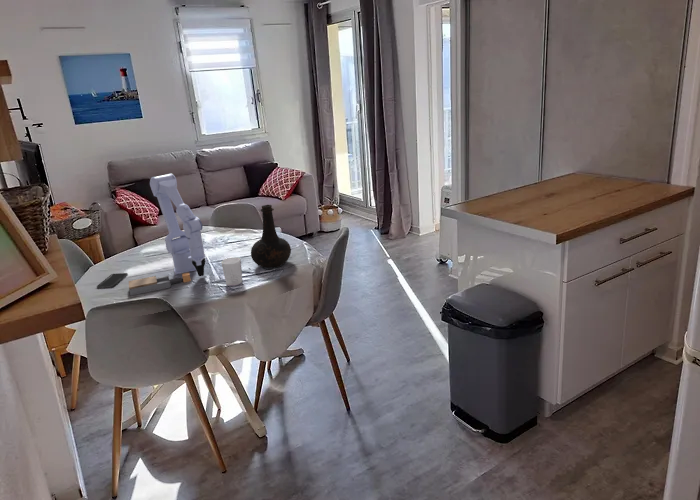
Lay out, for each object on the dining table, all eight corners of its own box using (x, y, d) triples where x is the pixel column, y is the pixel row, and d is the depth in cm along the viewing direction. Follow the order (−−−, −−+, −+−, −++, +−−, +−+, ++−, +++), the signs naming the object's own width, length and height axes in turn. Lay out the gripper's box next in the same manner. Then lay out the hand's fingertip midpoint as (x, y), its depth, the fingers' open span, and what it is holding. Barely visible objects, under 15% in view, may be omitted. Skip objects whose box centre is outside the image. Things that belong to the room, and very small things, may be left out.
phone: (95, 286, 219) (111, 273, 233) (96, 289, 219) (112, 276, 233) (113, 286, 218) (128, 272, 232) (114, 288, 219) (129, 275, 233)
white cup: (221, 283, 215) (217, 261, 212) (237, 277, 220) (233, 256, 217) (231, 288, 209) (227, 265, 206) (247, 282, 215) (244, 259, 211)
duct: (169, 280, 222) (168, 275, 221) (170, 287, 215) (169, 281, 214) (130, 288, 216) (129, 283, 215) (130, 295, 209) (129, 289, 208)
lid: (156, 277, 219) (155, 275, 219) (157, 283, 212) (156, 281, 212) (128, 282, 215) (128, 281, 215) (129, 289, 209) (128, 287, 208)
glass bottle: (245, 269, 229) (236, 209, 219) (267, 256, 244) (260, 199, 234) (278, 274, 221) (270, 212, 212) (299, 260, 236) (293, 201, 227)
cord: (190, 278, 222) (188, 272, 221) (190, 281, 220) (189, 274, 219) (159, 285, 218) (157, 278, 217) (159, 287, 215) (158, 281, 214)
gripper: (186, 242, 223) (191, 271, 228) (186, 252, 210) (192, 282, 215) (202, 240, 225) (207, 268, 230) (204, 250, 212) (209, 280, 217)
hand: (201, 275), depth 223 cm, fingers closed
